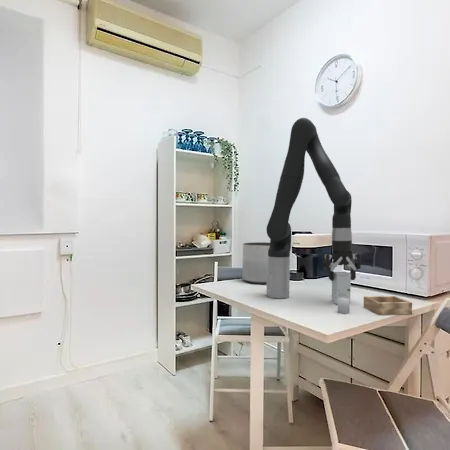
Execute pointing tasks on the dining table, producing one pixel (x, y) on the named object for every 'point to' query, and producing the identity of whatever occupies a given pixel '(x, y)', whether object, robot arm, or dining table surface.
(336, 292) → the skincare box
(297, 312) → the dining table surface
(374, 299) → the oak collar
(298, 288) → the dining table surface
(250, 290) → the dining table surface
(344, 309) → the grey stub
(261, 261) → the planter
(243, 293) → the dining table surface
